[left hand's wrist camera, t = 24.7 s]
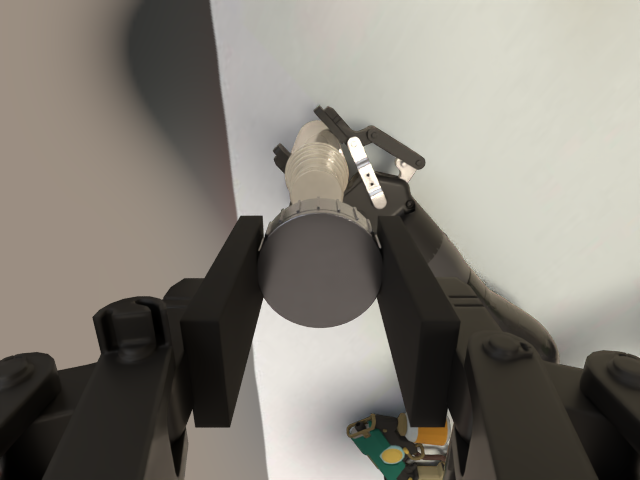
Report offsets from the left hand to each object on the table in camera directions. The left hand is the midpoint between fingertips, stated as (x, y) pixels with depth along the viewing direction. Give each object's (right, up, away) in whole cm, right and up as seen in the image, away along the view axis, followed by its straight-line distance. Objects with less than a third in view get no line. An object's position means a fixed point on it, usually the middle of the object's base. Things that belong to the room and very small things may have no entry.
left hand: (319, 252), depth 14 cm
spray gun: (+12, -29, +44) cm, 54 cm away
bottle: (0, +11, +29) cm, 31 cm away
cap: (0, 0, -1) cm, 1 cm away
